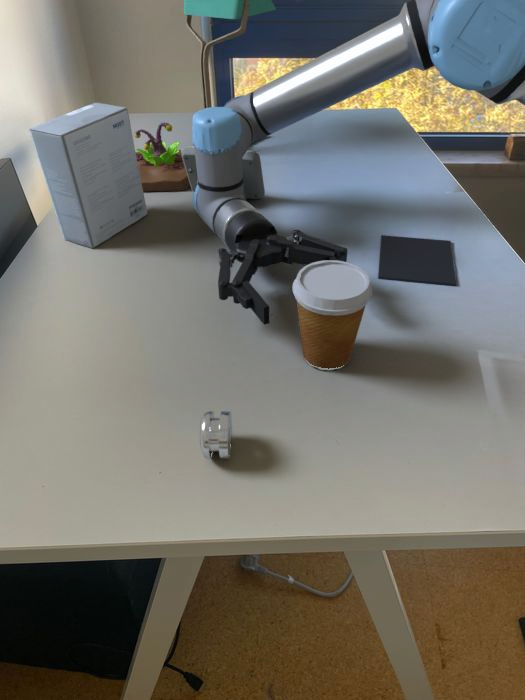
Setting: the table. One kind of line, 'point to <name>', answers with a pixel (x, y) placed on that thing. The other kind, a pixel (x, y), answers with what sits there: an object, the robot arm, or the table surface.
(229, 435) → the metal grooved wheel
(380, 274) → the mat
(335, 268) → the disposable coffee cup
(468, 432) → the table surface
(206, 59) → the banker's lamp
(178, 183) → the plant
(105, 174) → the hard drive box
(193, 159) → the digital clock
